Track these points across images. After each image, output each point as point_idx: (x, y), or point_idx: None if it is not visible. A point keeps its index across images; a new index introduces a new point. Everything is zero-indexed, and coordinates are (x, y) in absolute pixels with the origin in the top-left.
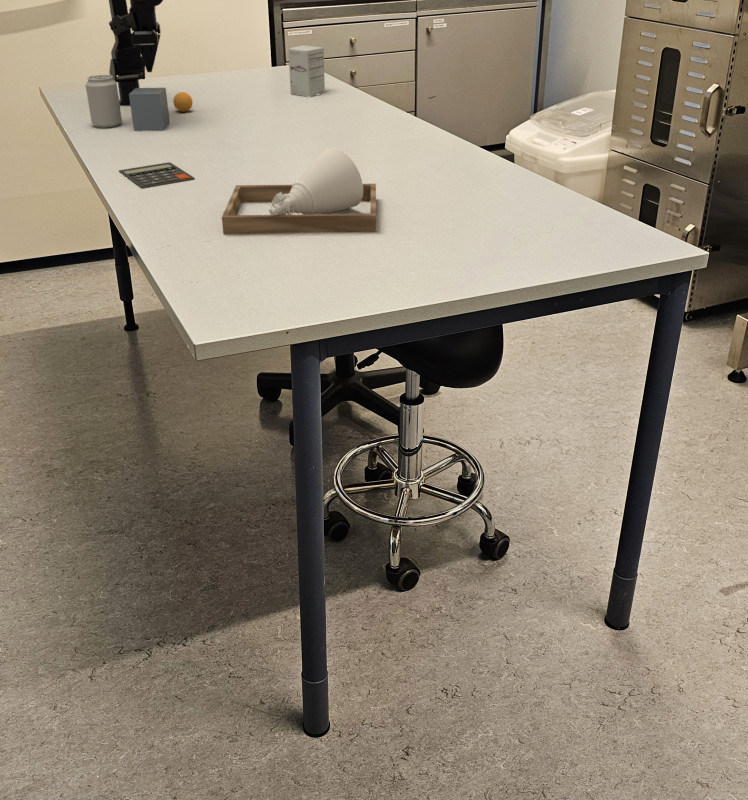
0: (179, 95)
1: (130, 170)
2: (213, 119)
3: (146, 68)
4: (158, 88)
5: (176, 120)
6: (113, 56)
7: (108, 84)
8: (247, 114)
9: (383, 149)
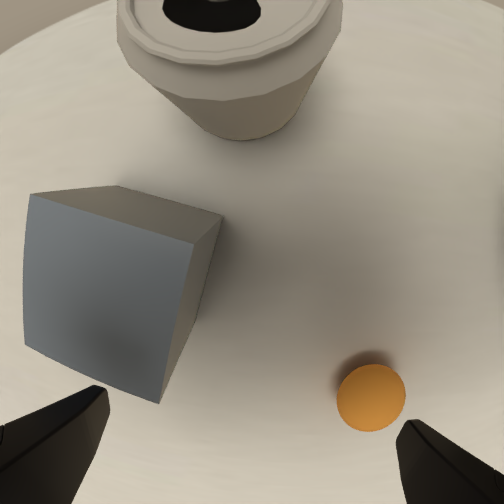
0: (364, 408)
1: None
2: (212, 436)
3: (72, 396)
4: (143, 371)
5: (235, 348)
6: None
7: (124, 51)
8: (245, 492)
9: None
